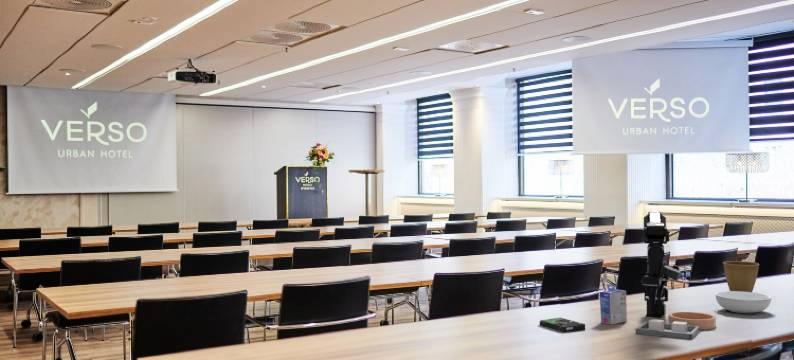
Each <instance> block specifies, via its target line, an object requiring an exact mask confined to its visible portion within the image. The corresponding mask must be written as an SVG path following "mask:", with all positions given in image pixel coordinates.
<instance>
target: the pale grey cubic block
mask: <svg viewBox="0 0 794 360" xmlns="http://www.w3.org/2000/svg"><path fill="white" fill-rule="evenodd" d="M671 332H681V333H688V331H687V322H677V321H674V322H673V323H672V329H671Z"/></svg>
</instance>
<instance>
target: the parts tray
mask: <svg viewBox="0 0 794 360" xmlns="http://www.w3.org/2000/svg"><path fill="white" fill-rule="evenodd" d="M665 329H666V330H668V331H666V330H665ZM670 330H671V331H670ZM700 332H701V329H700V326H690V325H687V333H681V332H672V324H669V323H666V322H664V331H661V330H651V329H649V321H644V322H643V323H641V324H640V325H639V326H638V327H636V328H635V334H637V335H645V336H657V337H664V336H666V338H674V337H675V339H684V340H693V339H695V337H696V336H697V335H698V334H699V333H700Z"/></svg>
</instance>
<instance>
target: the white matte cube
mask: <svg viewBox="0 0 794 360" xmlns="http://www.w3.org/2000/svg"><path fill="white" fill-rule="evenodd" d="M648 322H649V327H648V329H651V330H661V331H665V329H664V323H665V319H664V320H663V319H653V318H651V319H650V320H648Z"/></svg>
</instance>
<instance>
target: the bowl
mask: <svg viewBox="0 0 794 360" xmlns="http://www.w3.org/2000/svg"><path fill="white" fill-rule="evenodd" d="M667 317H668V318H667V319H668V320H667V321H668V323H669V324H672V323H673V322H674V321H677V322H687V325H690V326H700V330H711V329H712V330H713V329H715V328H716V326H717V316H715V315H714V314H710V313H706V312H705V313H704V312H696V311H674V312H670V313H668V316H667Z"/></svg>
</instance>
